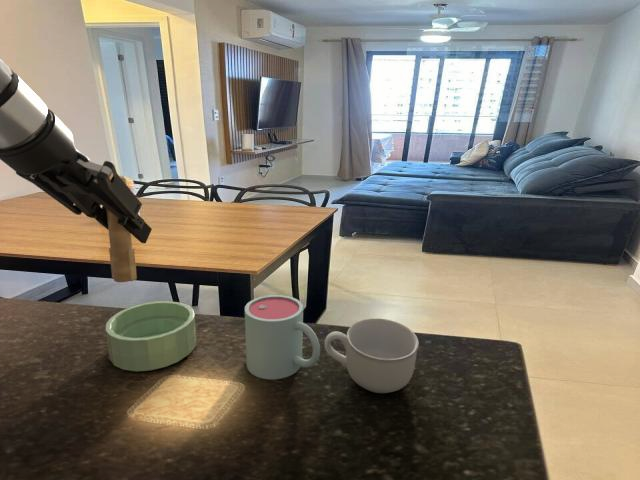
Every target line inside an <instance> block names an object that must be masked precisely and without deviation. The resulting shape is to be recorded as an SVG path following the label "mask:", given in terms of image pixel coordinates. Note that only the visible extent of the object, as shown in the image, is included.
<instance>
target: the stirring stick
mask: <svg viewBox="0 0 640 480" xmlns="http://www.w3.org/2000/svg"><path fill="white" fill-rule="evenodd" d="M119 176H120V178H121V179H122V180H123V181H124V183H125V184H126V185H127V177H126V175H119ZM127 186H128V185H127ZM106 211H107V220H108V229H107V231H108V238H109V248H108V252H109V261H110V263H109V264H110V272H111V279H112V280H113V281H114V282H116V283H127V282H133V281H135V280H137V279H138V277H137V265H136V255H135V253H136V252H135V248H133V239H132V234H131V233H130V232H129V231H127V230H126V229H125V228H124V227H123V226H122V225H120V224H118V222H117V221H118V219H119V218H118V217H117V216H115V215H114V214H113V213H111V212H110V211H109V210H107V209H106Z"/></svg>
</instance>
